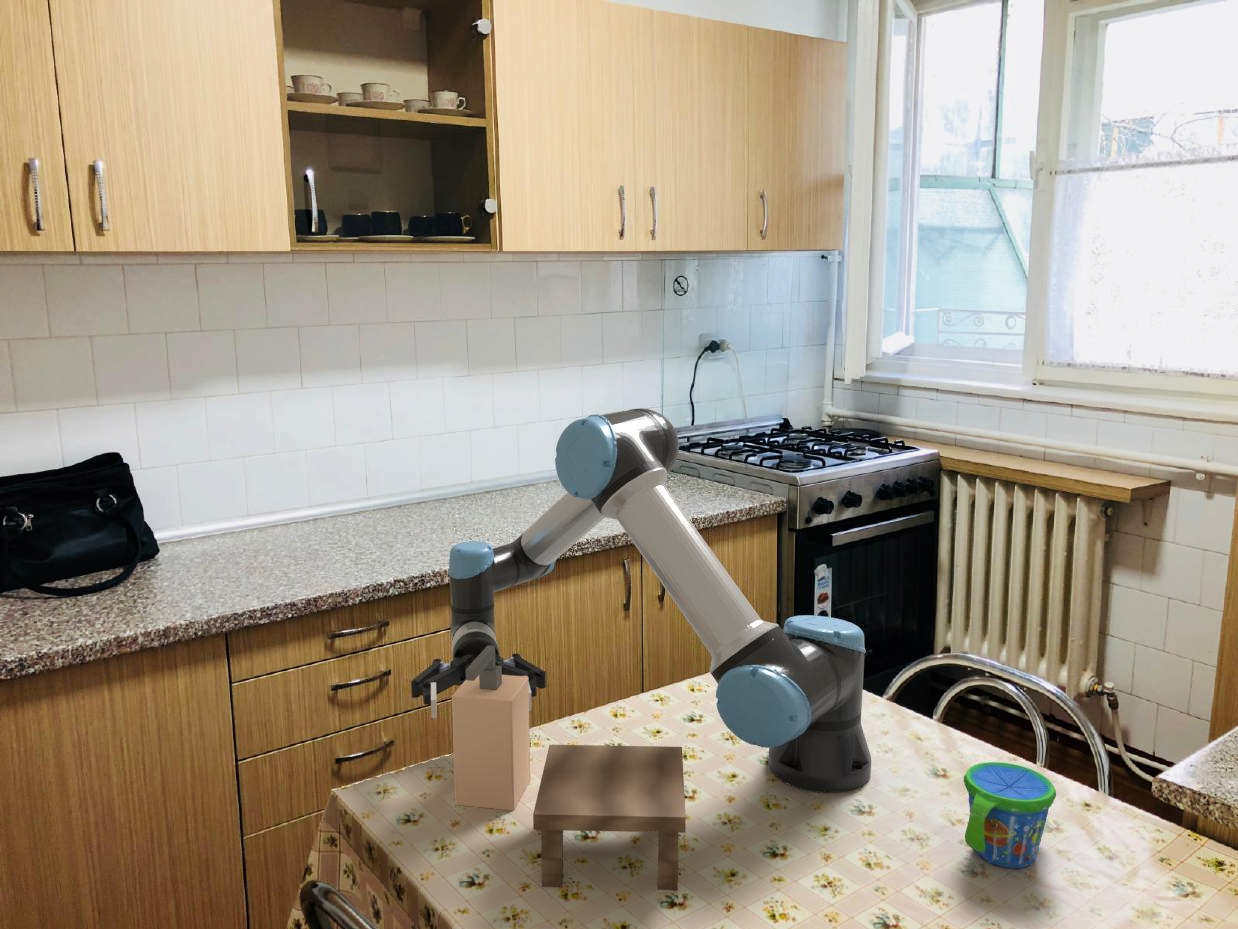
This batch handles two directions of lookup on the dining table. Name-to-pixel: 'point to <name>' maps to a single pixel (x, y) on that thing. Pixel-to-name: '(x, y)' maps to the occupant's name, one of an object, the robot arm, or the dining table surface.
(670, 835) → the walnut stool
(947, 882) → the dining table surface
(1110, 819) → the dining table surface
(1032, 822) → the snack cup
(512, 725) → the soap dispenser
